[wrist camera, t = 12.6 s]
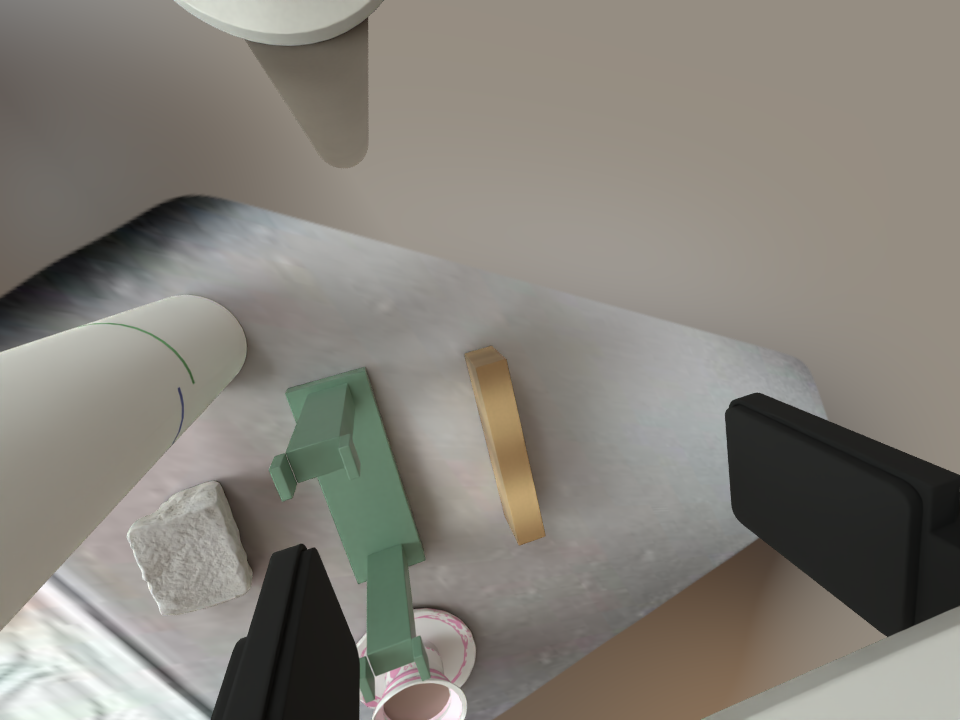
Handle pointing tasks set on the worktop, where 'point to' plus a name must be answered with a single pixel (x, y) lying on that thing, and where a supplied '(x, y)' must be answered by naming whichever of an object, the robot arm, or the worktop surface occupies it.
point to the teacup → (451, 654)
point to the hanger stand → (360, 509)
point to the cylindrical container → (98, 424)
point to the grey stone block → (191, 551)
